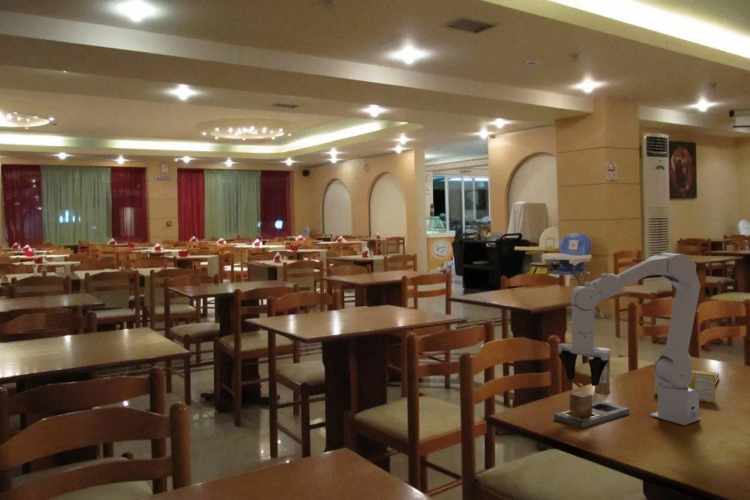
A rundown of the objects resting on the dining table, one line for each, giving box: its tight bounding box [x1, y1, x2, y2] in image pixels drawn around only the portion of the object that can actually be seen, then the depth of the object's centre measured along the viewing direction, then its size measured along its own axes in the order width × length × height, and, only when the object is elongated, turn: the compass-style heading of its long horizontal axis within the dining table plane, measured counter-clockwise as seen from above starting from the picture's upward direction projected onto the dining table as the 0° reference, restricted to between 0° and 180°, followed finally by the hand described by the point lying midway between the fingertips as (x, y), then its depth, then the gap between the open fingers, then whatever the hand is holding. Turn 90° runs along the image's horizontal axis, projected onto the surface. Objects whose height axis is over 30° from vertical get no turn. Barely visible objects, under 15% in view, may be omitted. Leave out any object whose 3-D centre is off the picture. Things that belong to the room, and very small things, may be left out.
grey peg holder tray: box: [553, 400, 630, 430], centre depth 164 cm, size 9×20×2 cm, turn 124°
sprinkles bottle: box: [594, 347, 611, 394], centre depth 187 cm, size 5×5×14 cm
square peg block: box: [569, 391, 593, 419], centre depth 161 cm, size 4×4×7 cm
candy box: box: [653, 370, 716, 404], centre depth 180 cm, size 16×2×8 cm, turn 52°
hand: (582, 382), depth 162 cm, fingers open, 7 cm apart
